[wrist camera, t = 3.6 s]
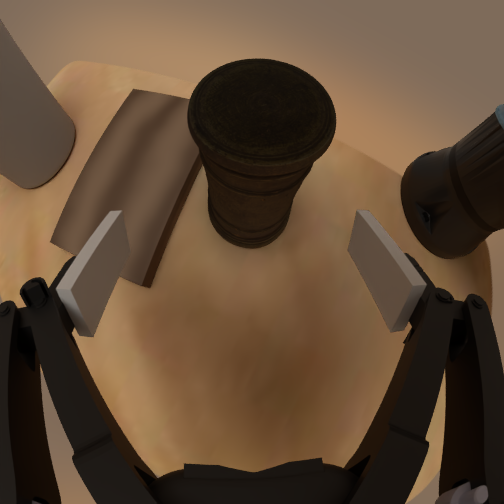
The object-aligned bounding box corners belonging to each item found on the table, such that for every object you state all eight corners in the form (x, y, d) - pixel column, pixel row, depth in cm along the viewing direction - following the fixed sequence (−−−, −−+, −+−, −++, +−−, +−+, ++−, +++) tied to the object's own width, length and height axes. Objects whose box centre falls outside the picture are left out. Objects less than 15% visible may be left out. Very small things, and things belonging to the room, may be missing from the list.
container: (263, 263, 31) (303, 208, 13) (192, 221, 31) (148, 127, 13) (302, 196, 32) (364, 95, 15) (235, 159, 33) (238, 38, 15)
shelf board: (223, 121, 33) (223, 107, 31) (150, 287, 29) (141, 285, 26) (138, 102, 34) (133, 89, 31) (62, 247, 29) (50, 242, 26)
